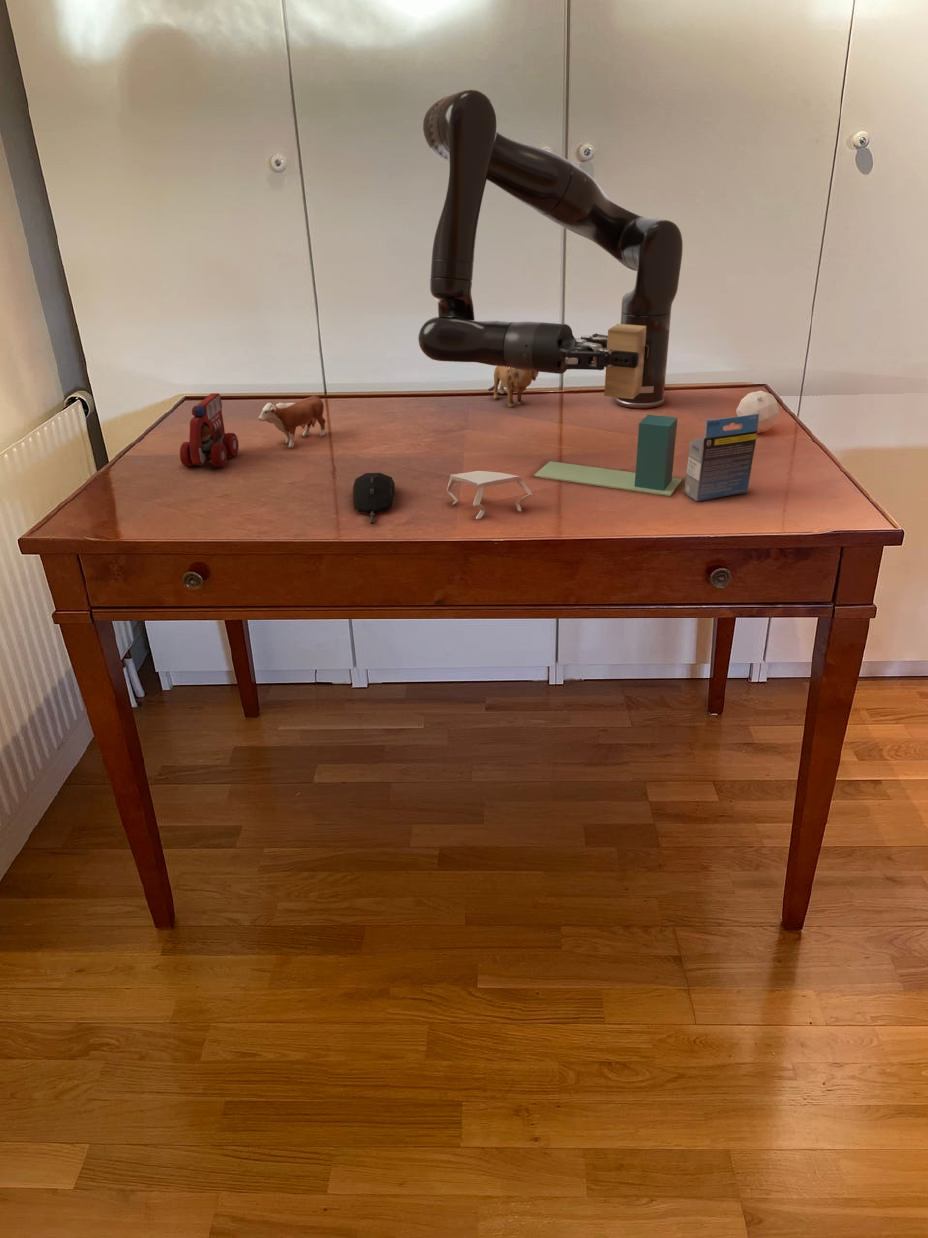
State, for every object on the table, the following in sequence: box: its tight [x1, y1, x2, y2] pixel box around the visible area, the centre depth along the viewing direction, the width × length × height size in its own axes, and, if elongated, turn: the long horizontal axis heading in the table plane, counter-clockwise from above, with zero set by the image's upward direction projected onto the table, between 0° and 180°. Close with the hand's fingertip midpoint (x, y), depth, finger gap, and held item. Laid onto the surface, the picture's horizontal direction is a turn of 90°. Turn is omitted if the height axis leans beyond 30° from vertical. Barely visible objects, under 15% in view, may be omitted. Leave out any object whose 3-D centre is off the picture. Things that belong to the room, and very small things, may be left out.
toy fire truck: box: [179, 392, 240, 468], centre depth 149 cm, size 7×12×10 cm, turn 171°
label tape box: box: [683, 414, 759, 502], centre depth 129 cm, size 9×4×12 cm, turn 108°
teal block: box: [634, 413, 679, 491], centre depth 133 cm, size 5×5×10 cm
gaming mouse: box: [352, 472, 396, 525], centre depth 132 cm, size 6×15×4 cm, turn 3°
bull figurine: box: [258, 394, 327, 449], centre depth 157 cm, size 4×13×8 cm, turn 137°
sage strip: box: [533, 460, 683, 497], centre depth 139 cm, size 7×22×1 cm, turn 64°
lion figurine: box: [487, 366, 540, 408], centre depth 175 cm, size 15×5×9 cm, turn 33°
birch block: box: [603, 323, 646, 399], centre depth 135 cm, size 5×5×10 cm
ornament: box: [735, 390, 781, 434], centre depth 155 cm, size 7×7×8 cm
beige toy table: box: [446, 470, 533, 520], centre depth 129 cm, size 12×8×5 cm
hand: (642, 356), depth 134 cm, fingers closed on birch block, 4 cm apart
